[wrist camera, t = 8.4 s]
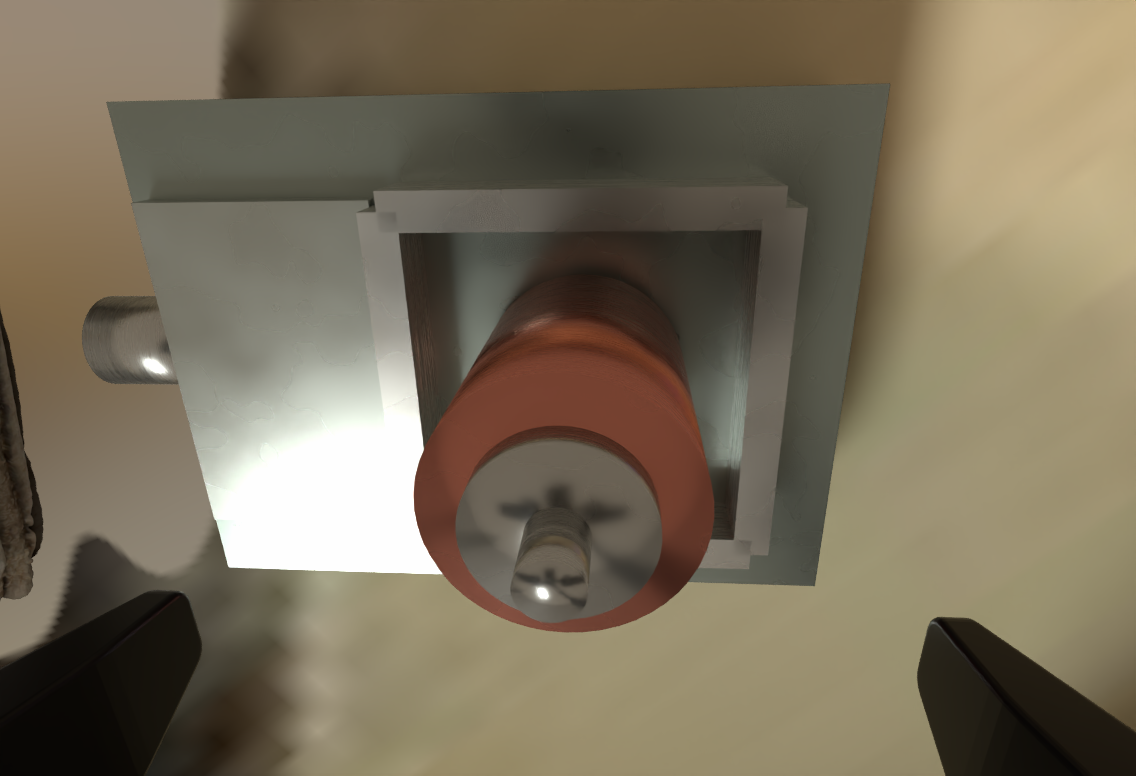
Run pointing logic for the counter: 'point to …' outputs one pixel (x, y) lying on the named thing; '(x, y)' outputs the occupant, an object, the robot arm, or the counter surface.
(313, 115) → the grey piece
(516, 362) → the spout can
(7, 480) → the washcloth
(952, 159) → the counter surface
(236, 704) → the counter surface
